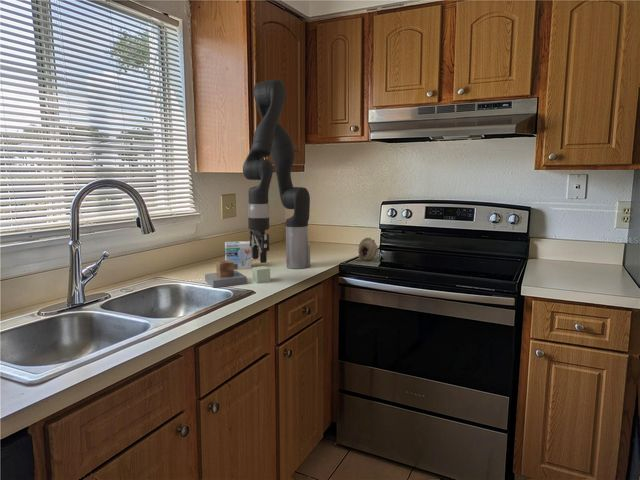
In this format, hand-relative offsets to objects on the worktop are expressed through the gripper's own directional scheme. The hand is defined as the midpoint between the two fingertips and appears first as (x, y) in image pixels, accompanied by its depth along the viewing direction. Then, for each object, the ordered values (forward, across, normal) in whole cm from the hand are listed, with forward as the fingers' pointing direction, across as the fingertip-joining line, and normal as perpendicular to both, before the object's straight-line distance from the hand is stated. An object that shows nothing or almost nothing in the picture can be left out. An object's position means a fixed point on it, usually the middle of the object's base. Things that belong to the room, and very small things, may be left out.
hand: (259, 260), depth 164 cm
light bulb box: (+8, +27, 0) cm, 28 cm away
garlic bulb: (+7, +15, -56) cm, 59 cm away
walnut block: (+5, +5, +11) cm, 13 cm away
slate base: (+8, +5, +11) cm, 15 cm away
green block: (+8, 0, -1) cm, 8 cm away
